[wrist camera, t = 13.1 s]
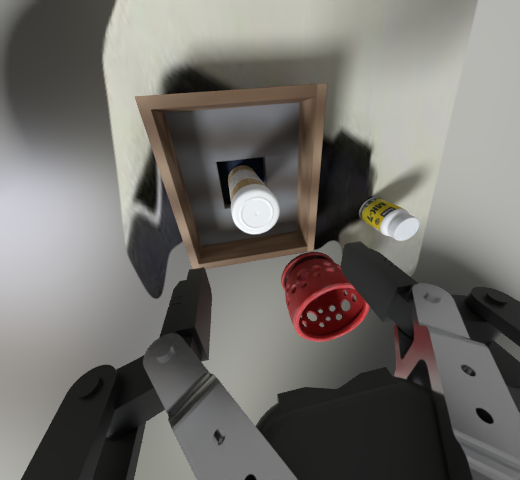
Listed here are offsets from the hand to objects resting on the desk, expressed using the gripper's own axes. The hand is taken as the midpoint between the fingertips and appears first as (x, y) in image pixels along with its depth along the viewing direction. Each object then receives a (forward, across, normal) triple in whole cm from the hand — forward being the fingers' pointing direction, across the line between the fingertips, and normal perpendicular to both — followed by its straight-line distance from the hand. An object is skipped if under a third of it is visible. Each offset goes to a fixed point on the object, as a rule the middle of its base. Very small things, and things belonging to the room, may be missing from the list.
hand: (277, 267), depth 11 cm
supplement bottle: (+21, -23, +8) cm, 32 cm away
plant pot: (+21, -11, +20) cm, 31 cm away
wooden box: (+21, 0, 0) cm, 21 cm away
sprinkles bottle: (+21, 0, 0) cm, 21 cm away
